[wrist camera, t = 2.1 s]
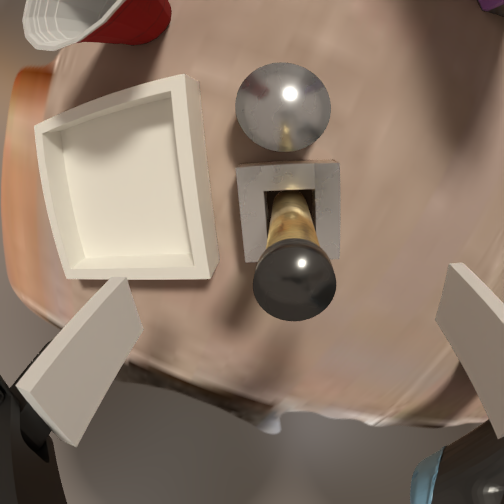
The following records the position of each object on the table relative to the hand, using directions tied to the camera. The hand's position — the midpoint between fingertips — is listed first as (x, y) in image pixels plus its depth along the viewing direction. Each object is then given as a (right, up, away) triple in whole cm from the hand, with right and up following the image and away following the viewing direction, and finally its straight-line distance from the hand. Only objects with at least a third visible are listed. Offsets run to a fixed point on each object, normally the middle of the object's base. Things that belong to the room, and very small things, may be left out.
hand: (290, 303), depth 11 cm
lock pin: (+2, +6, +15) cm, 16 cm away
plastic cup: (-12, +24, +9) cm, 28 cm away
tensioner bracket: (+2, +10, +13) cm, 17 cm away
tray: (-14, +9, +15) cm, 22 cm away
